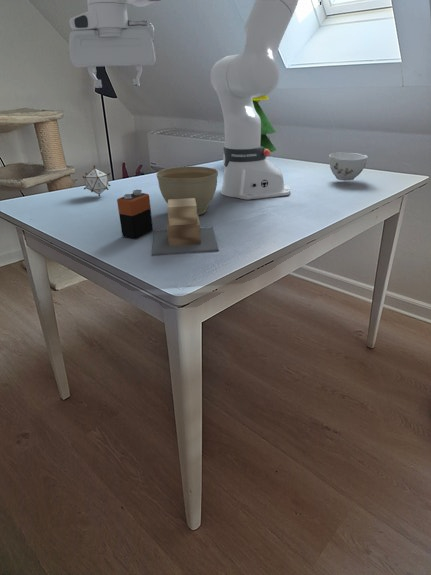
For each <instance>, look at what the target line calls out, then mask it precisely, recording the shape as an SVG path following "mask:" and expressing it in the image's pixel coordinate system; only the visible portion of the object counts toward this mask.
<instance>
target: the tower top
mask: <svg viewBox="0 0 431 575" xmlns="http://www.w3.org/2000/svg"><path fill="white" fill-rule="evenodd" d="M167 215H168V216H169V226H172V225H188V224H197V207H196V201H195V198H187V199H169V200H168V204H167Z"/></svg>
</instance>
